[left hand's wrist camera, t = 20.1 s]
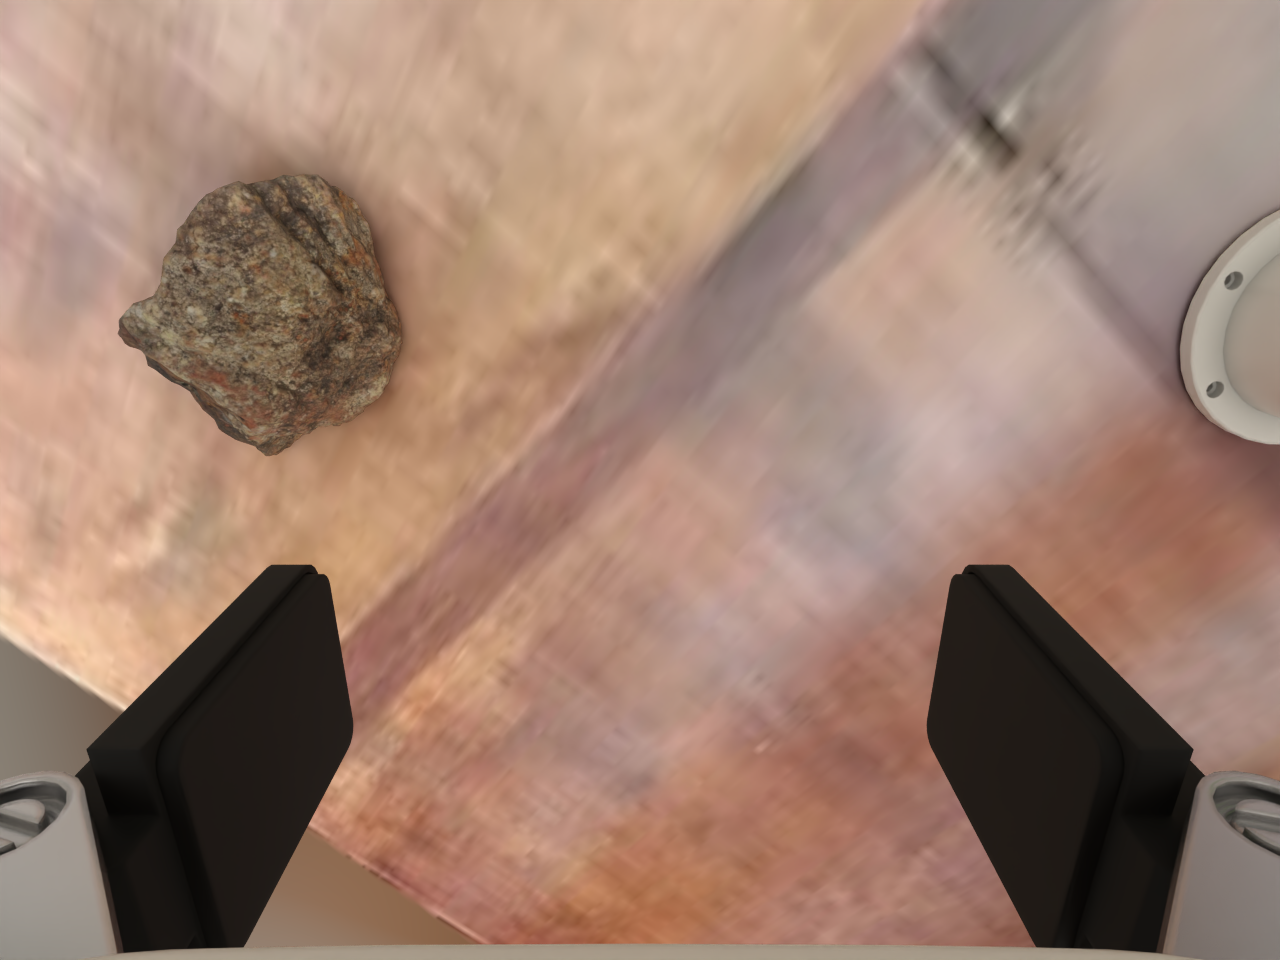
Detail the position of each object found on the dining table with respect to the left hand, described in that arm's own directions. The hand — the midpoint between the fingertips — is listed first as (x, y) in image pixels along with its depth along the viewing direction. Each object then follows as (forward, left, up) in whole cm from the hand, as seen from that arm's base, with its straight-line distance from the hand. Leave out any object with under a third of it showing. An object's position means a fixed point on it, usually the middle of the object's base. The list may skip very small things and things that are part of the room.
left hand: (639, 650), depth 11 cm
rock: (+16, +7, -29) cm, 34 cm away
